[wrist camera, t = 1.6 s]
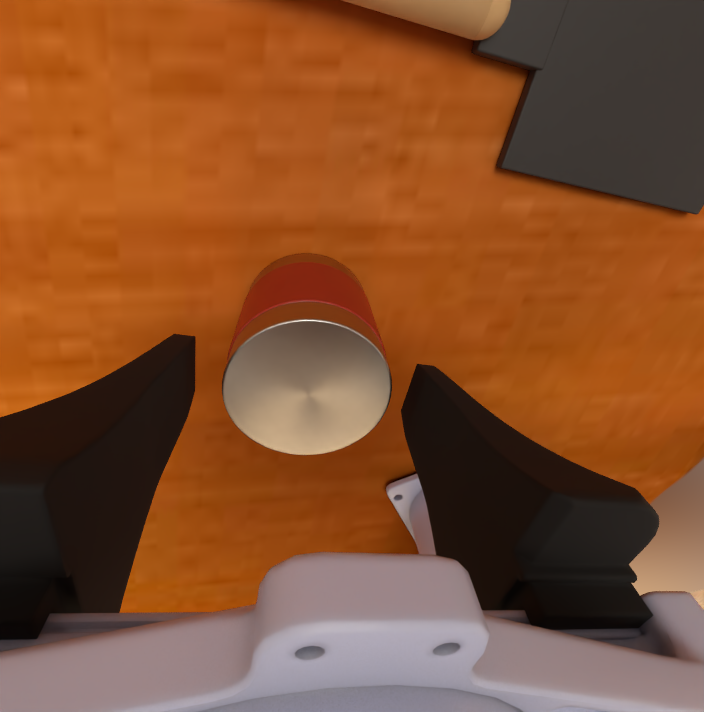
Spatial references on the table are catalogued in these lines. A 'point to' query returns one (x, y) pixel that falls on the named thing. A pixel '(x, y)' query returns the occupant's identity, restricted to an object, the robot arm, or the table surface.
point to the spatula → (593, 88)
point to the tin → (306, 359)
